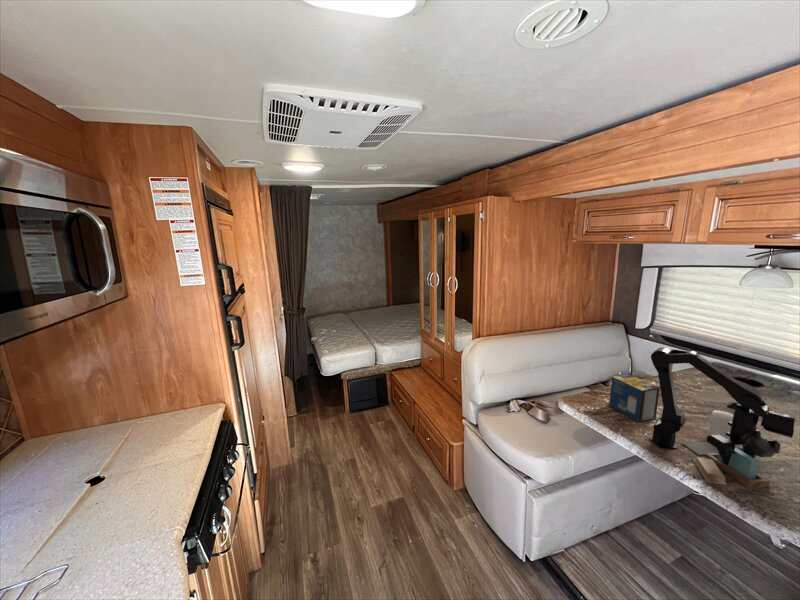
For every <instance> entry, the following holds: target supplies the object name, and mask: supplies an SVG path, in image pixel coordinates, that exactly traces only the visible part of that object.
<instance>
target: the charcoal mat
mask: <svg viewBox="0 0 800 600" xmlns="http://www.w3.org/2000/svg"><path fill="white" fill-rule="evenodd" d="M681 445H683V447H685V448H687V449H688V450H690V451H691V452H692V453H694V454H696V455H697V456H698V457H702V456H705V454H706V453H718V450H717V448H716V447H715V446H713V445H712V444H710V443H708V442H707V441H697V442H681Z"/></svg>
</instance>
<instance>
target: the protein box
mask: <svg viewBox="0 0 800 600" xmlns="http://www.w3.org/2000/svg"><path fill="white" fill-rule="evenodd" d="M610 387H611V388H610V392H609V393H610V395H609V402H608V403H609V404H608V406H609V407H611V408H613V409H615V410H617V411H619V412H620V413H622V414H624V415H626V416H627V417H628V418H631V419H632V420H634V421H636V422H644V421H648V420H655V419H656V418H657V412H658V411H657V410H658V405H659V404H658V403H659V396H660V391H661V389H660V386H657V385H655V384H652V383H650V382H647V381H645V380H643V379H640V378H638V377H636V376H633V375H631V374H622V375H616V376H612V377H611V386H610Z"/></svg>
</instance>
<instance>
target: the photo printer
mask: <svg viewBox="0 0 800 600" xmlns="http://www.w3.org/2000/svg"><path fill="white" fill-rule="evenodd" d="M732 419H733V413H730V412H727V411H722V410H713V411H712V413H710V418H709V426H708V431H707V436H709V435H721V436H723V437H724V438H726V439H730V437H729V436H727V435H726V432H730V429H731V426H730V425H728V422H732ZM735 447H736V448H737V449H739V450H743V445H742V446H735Z"/></svg>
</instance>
